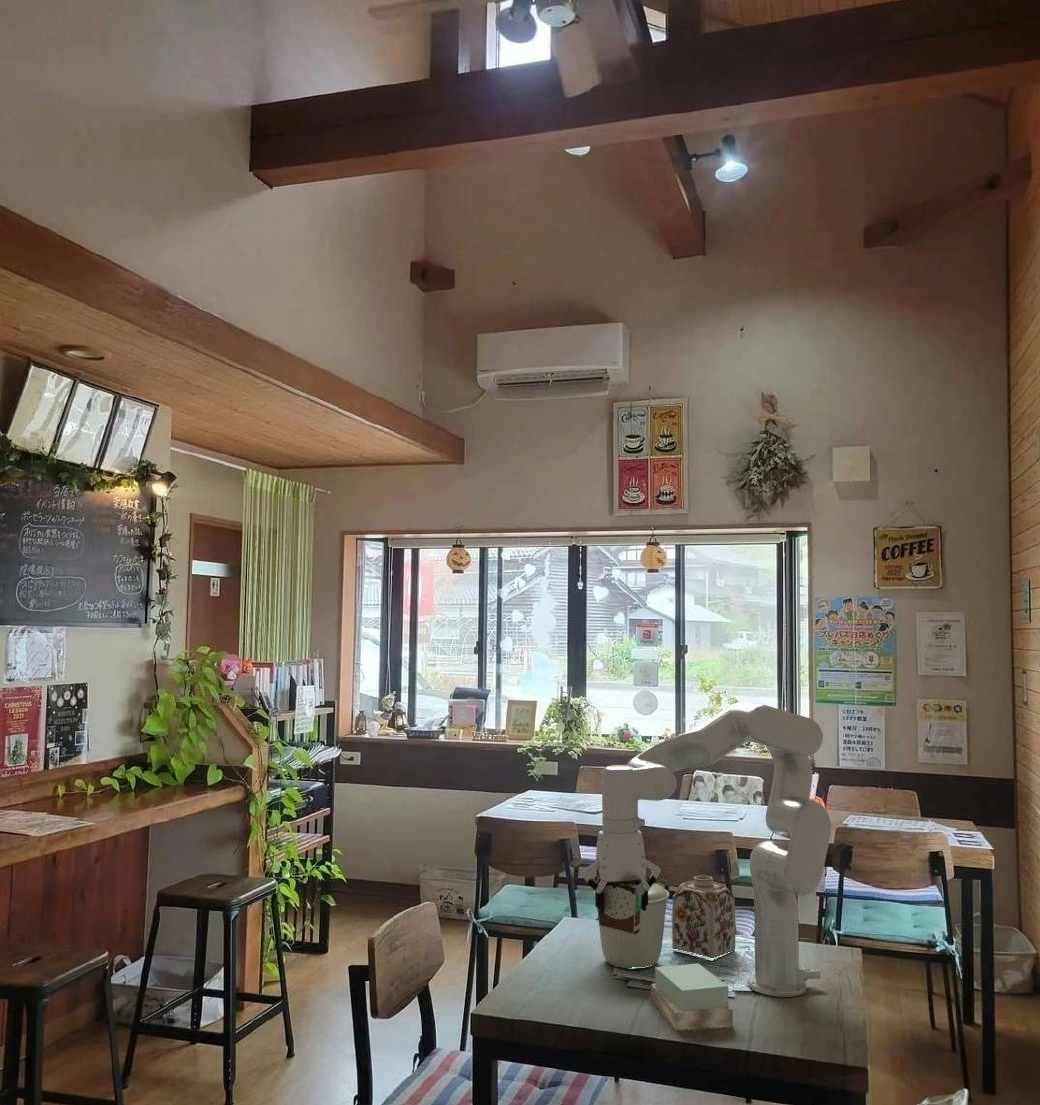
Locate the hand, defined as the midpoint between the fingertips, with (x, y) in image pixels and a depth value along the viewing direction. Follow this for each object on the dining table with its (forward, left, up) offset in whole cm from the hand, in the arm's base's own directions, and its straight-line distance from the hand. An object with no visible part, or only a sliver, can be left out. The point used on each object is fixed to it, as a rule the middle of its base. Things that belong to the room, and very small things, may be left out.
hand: (621, 909), depth 205 cm
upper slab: (-14, +3, -17) cm, 22 cm away
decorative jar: (-30, -35, -21) cm, 50 cm away
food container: (-1, 0, -4) cm, 4 cm away
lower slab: (-14, +3, -21) cm, 25 cm away
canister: (-10, -29, -21) cm, 37 cm away
